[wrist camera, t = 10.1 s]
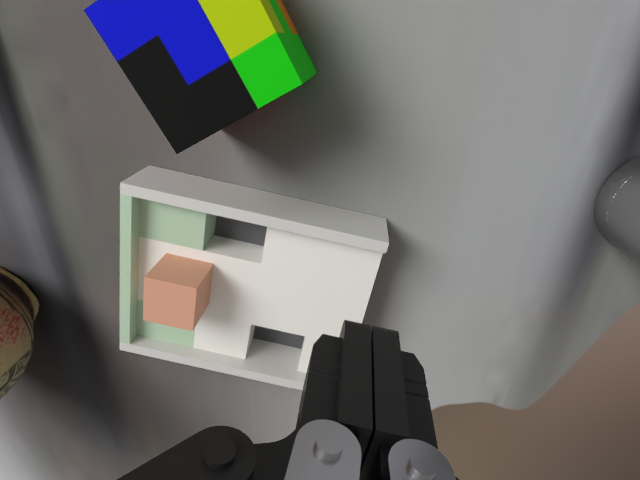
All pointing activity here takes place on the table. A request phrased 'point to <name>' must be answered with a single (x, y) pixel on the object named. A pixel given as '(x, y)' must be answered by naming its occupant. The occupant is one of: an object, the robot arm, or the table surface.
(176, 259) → the block
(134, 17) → the puzzle toy
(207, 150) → the table surface
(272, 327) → the box
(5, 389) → the ceramic jug
